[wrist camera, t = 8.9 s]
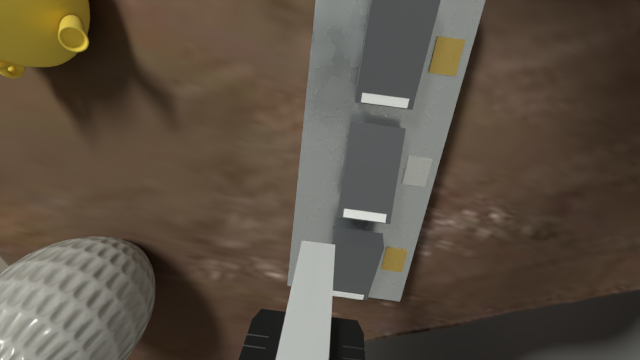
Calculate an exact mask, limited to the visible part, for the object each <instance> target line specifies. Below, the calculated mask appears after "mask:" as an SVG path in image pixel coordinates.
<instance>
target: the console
mask: <svg viewBox="0 0 640 360" xmlns="http://www.w3.org/2000/svg"><path fill="white" fill-rule="evenodd" d="M484 4H485V0H441V1H440V5H439V9H438V13H437V17H436V21H435V24H434V28H433V32H432V36H431V40H430V44H429V48H428V51H427V55H426V59H425V63H424V67H423V71H422V75H421V79H420V82H419V86H418V90H417V94H416V98H415V102H414V106H413V110H409V109H401V108H394V107H386V106H378V105H371V104H363V103H356V102H355V91H356V84H357V78H358V72H359V66H360V60H361V54H362V48H363V42H364V36H365V30H366V24H367V17H368V11H369V5H370V0H316V4H315V14H314V24H313V34H312V44H311V54H310V64H309V74H308V84H307V94H306V104H305V114H304V124H303V134H302V144H301V154H300V164H299V174H298V184H297V194H296V204H295V214H294V224H293V234H292V244H291V254H290V264H289V274H288V284H287V286H292V283H293V279H294V274H295V270H296V265H297V261H298V256H299V251H300V247H301V242H302V241H309V242H317V243H326V244H332V239H333V234H334V228H335V227H340V228H347V229H354V230H361V231H369V232H376V233H383V241H384V250H383V253H382V256H381V259H380V262H379V265H378V268H377V271H376V274H375V277H374V280H373V283H372V286H371V289H370V292H369V295H368V297H371V298H378V299H385V300H392V301H399V302H400V300H401V296H402V293H403V289H404V286H405V282H406V279H407V275H408V272H409V268H410V265H411V261H412V258H413V254H414V251H415V247H416V244H417V240H418V236H419V233H420V229H421V226H422V222H423V219H424V215H425V212H426V208H427V205H428V201H429V198H430V194H431V191H432V187H433V184H434V180H435V177H436V173H437V169H438V166H439V162H440V159H441V155H442V152H443V148H444V145H445V141H446V138H447V134H448V131H449V127H450V124H451V120H452V117H453V113H454V110H455V106H456V102H457V99H458V95H459V92H460V88H461V85H462V81H463V78H464V74H465V71H466V67H467V64H468V60H469V57H470V53H471V50H472V46H473V43H474V39H475V35H476V32H477V28H478V25H479V21H480V18H481V14H482V11H483V7H484ZM351 121H353V122H361V123H369V124H376V125H384V126H391V127H399V128H406V131H405V137H404V143H403V150H402V156H401V162H400V168H399V174H398V180H397V186H396V192H395V198H394V204H393V210H392V216H391V223H390V224H385V223H378V222H370V221H363V220H356V219H348V218H341V217H338V216H337V210H338V203H339V196H340V189H341V182H342V175H343V168H344V161H345V154H346V147H347V140H348V133H349V126H350V122H351Z"/></svg>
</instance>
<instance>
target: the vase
mask: <svg viewBox="0 0 640 360" xmlns="http://www.w3.org/2000/svg"><path fill="white" fill-rule="evenodd" d="M155 287H156V286H155V276H154V271H153V268H152V265H151V263H150V261H149V259H148V257H147V256H146V254H145V253H144V251H143V250H142V249H141V248H139V247H138V246H137V245H135V244H133V243H131V242H128V241H125V240H122V239H118V238H113V237H84V238H74V239H69V240H66V241H62V242H59V243H55V244H52V245H48V246H46V247H44V248H41V249H39V250H37V251H35V252H33V253H31V254H29V255H27V256H25V257H23V258H21V259H20V260H18V261H16V262H15V263H13V264H12V265H10V266H9V267H7V268H5V269H4V270H3V271H2V272H0V360H126V359H127V358H128V356H129V355H130V353H131V352H132V351H133V349H134V348H135V346H136V345H137V343H138V342H139V340H140V339H141V337H142V335H143V333H144V331H145V329H146V327H147V325H148V323H149V320H150V318H151V314H152V311H153V307H154V303H155Z"/></svg>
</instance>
